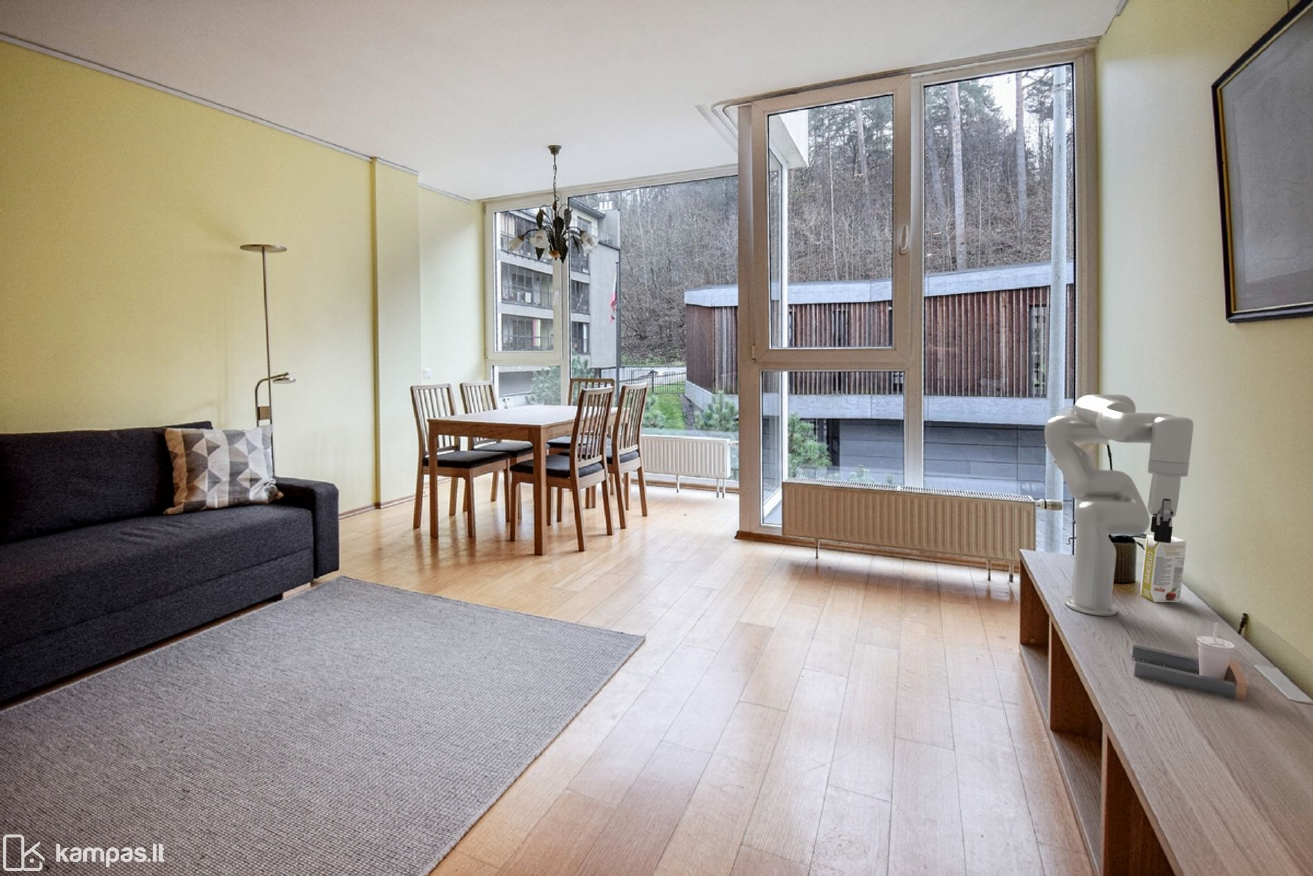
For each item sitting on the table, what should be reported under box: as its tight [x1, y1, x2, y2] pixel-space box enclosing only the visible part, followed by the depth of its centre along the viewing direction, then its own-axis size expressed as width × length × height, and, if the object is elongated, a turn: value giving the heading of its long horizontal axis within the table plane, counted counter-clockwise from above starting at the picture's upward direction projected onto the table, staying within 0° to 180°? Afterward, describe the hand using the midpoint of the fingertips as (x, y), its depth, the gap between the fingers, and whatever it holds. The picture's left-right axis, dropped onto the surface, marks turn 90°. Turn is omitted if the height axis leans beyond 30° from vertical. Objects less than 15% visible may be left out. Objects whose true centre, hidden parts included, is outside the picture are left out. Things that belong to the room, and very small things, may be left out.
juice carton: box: [1140, 534, 1187, 603], centre depth 187 cm, size 8×9×19 cm
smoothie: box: [1195, 622, 1236, 681], centre depth 138 cm, size 6×6×14 cm
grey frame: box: [1131, 644, 1248, 703], centre depth 142 cm, size 12×19×4 cm, turn 55°
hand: (1160, 537), depth 153 cm, fingers open, 9 cm apart
